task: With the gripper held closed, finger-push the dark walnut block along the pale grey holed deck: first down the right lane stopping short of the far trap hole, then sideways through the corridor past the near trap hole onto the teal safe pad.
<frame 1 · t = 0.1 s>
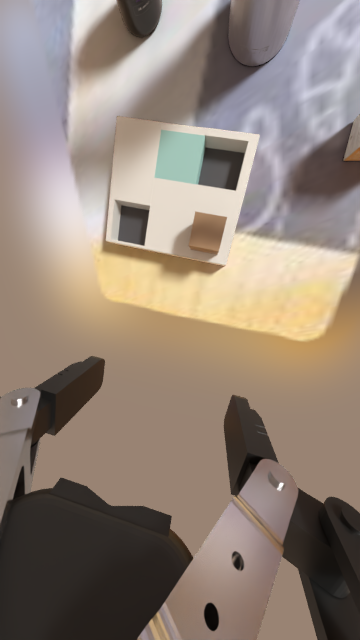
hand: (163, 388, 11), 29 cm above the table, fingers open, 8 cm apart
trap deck: (176, 200, 35), on the table
supplement bottle: (143, 13, 29), on the table
walnut block: (207, 237, 32), point 3 cm above the table, touching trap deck
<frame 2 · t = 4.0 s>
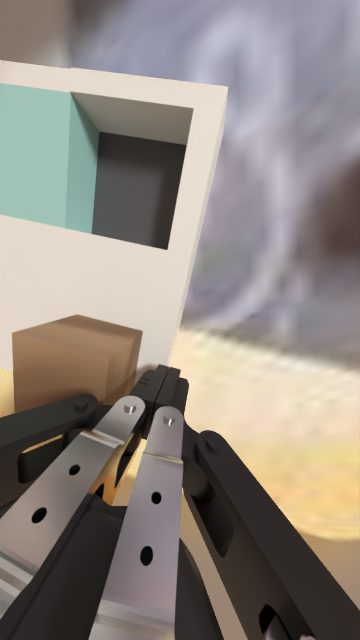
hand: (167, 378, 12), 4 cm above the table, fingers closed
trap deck: (53, 254, 15), on the table
walnut block: (106, 353, 13), point 3 cm above the table, touching gripper, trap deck
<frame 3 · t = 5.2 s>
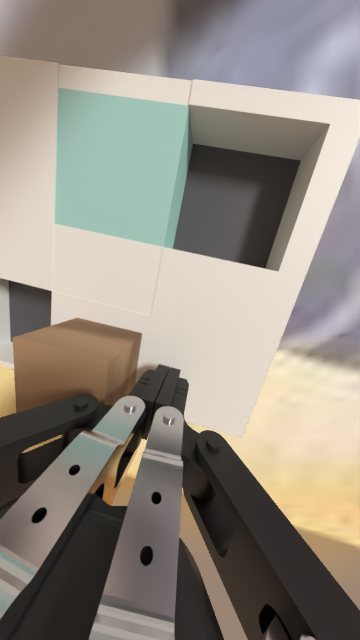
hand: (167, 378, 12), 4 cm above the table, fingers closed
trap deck: (126, 269, 15), on the table
walnut block: (106, 356, 13), point 3 cm above the table, touching gripper
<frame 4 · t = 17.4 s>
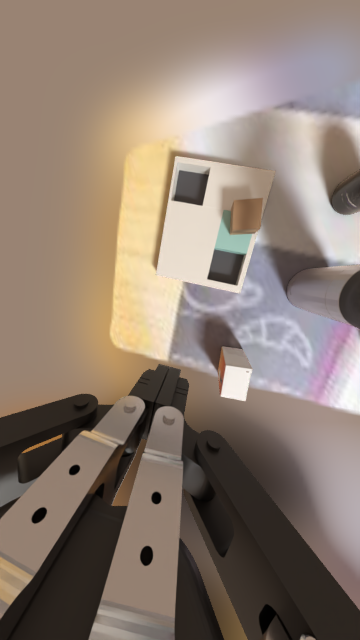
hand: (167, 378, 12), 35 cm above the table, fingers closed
small box: (229, 360, 48), on the table
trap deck: (209, 231, 41), on the table
supplement bottle: (348, 197, 36), on the table
walnut block: (242, 221, 37), point 3 cm above the table, touching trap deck
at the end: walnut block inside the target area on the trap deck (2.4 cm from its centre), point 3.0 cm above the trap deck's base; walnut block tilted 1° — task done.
